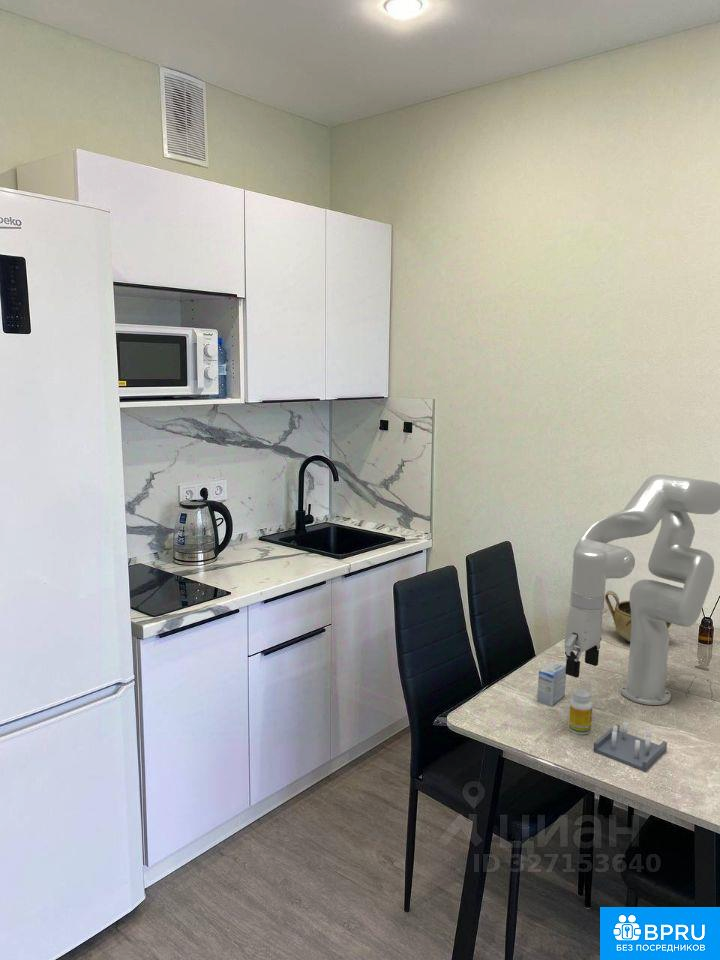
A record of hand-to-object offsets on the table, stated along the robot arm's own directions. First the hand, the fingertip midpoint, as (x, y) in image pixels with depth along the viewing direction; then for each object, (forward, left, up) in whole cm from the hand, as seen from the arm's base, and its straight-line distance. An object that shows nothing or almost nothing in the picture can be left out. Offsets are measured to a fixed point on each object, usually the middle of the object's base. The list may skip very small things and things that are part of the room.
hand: (581, 669), depth 172 cm
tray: (0, +13, -16) cm, 20 cm away
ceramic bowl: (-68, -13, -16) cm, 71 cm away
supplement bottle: (-1, 0, -16) cm, 16 cm away
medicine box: (-11, -13, -16) cm, 23 cm away
